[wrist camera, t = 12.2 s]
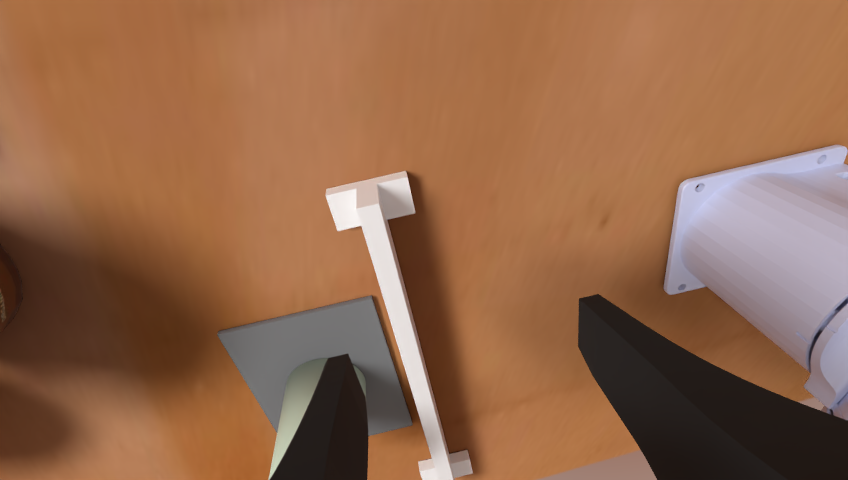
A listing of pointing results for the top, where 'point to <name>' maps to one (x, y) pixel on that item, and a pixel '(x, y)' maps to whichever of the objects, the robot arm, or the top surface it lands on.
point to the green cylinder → (299, 403)
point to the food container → (8, 289)
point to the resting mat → (320, 357)
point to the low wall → (397, 301)
